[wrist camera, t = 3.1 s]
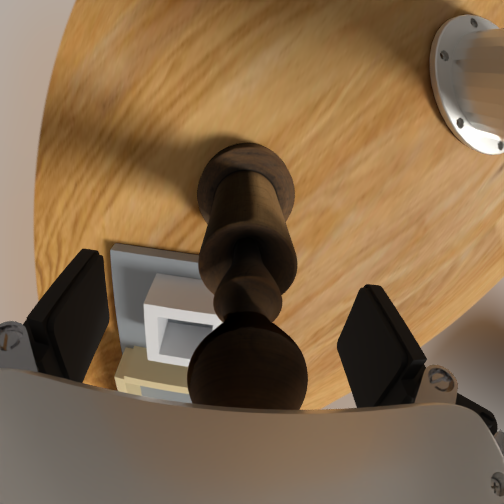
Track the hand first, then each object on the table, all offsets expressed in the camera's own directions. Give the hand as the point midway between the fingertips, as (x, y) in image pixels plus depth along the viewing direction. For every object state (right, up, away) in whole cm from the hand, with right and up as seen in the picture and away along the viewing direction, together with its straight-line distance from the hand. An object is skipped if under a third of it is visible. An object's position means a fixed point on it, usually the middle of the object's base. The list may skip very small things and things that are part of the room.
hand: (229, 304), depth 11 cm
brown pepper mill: (0, +7, +11) cm, 13 cm away
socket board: (-6, -9, +19) cm, 22 cm away
